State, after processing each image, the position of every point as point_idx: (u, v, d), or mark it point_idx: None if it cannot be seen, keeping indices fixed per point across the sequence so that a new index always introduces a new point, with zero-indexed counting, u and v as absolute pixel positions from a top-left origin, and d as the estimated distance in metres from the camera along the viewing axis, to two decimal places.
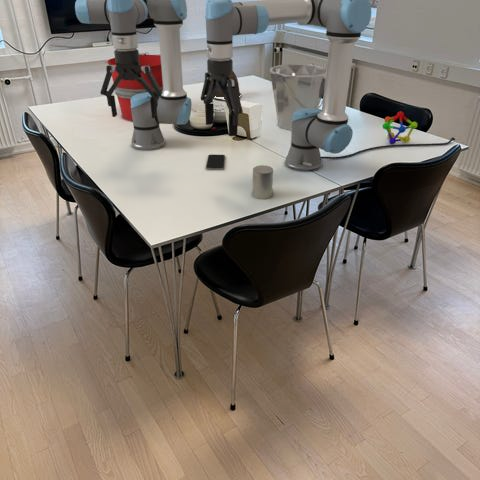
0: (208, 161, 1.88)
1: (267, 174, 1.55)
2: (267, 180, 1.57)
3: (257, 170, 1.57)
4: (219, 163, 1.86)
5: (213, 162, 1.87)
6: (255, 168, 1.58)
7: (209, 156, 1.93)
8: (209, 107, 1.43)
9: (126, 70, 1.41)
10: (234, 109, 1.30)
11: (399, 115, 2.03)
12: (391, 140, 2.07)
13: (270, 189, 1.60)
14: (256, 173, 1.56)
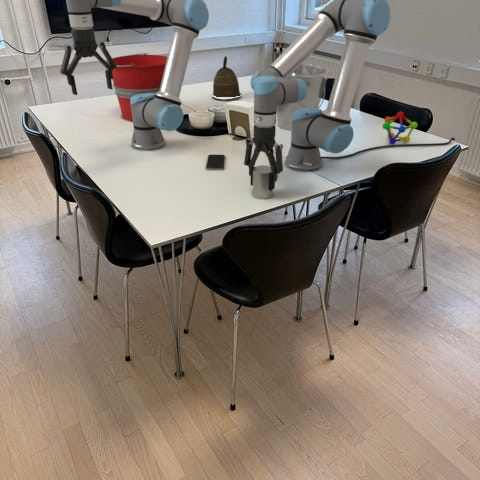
0: (208, 161, 1.88)
1: (267, 174, 1.55)
2: (267, 180, 1.57)
3: (257, 170, 1.57)
4: (219, 163, 1.86)
5: (213, 162, 1.87)
6: (255, 168, 1.58)
7: (209, 156, 1.93)
8: None
9: (85, 48, 1.55)
10: (278, 169, 1.53)
11: (399, 115, 2.03)
12: (391, 140, 2.07)
13: None
14: (256, 173, 1.56)
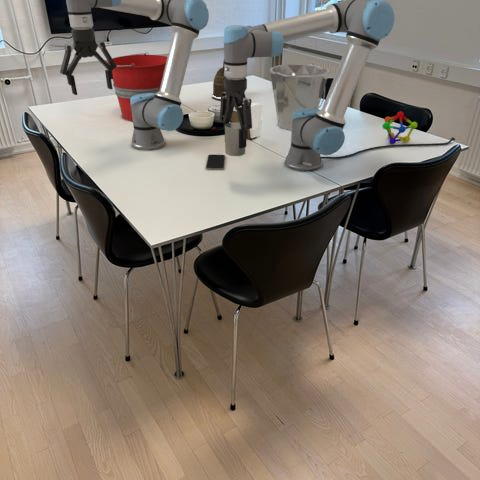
0: (208, 161, 1.88)
1: (236, 130, 1.51)
2: (237, 136, 1.53)
3: (228, 125, 1.54)
4: (219, 163, 1.86)
5: (213, 162, 1.87)
6: (228, 124, 1.55)
7: (209, 156, 1.93)
8: None
9: (85, 48, 1.55)
10: (245, 125, 1.48)
11: (399, 115, 2.03)
12: (391, 140, 2.07)
13: None
14: (226, 128, 1.53)
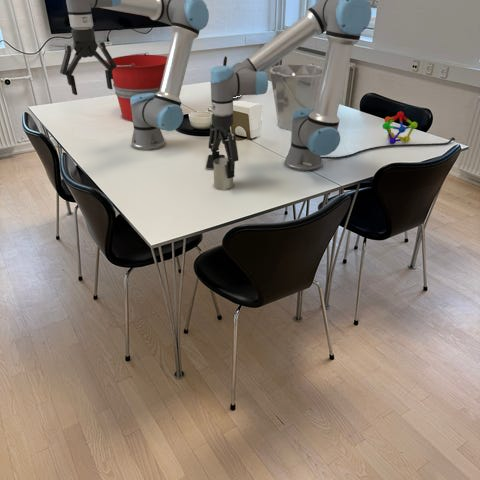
0: (208, 161, 1.88)
1: (222, 166, 1.61)
2: (223, 172, 1.62)
3: (216, 161, 1.64)
4: None
5: None
6: (217, 159, 1.65)
7: (209, 156, 1.93)
8: (215, 154, 1.67)
9: (85, 48, 1.55)
10: (231, 158, 1.56)
11: (399, 115, 2.03)
12: (391, 140, 2.07)
13: (227, 181, 1.65)
14: (214, 164, 1.63)
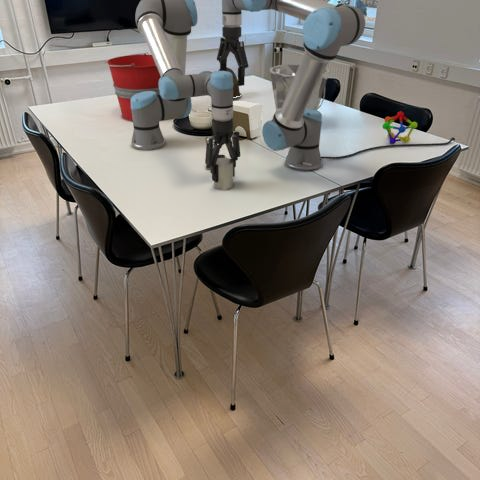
0: None
1: (222, 166, 1.61)
2: (223, 172, 1.62)
3: None
4: None
5: None
6: (217, 159, 1.65)
7: None
8: (223, 65, 1.86)
9: (223, 136, 1.58)
10: (242, 64, 1.73)
11: (399, 115, 2.03)
12: (391, 140, 2.07)
13: (227, 181, 1.65)
14: None
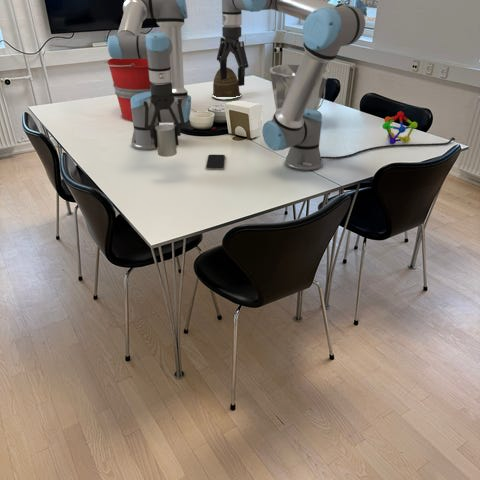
0: (208, 161, 1.88)
1: (159, 131, 1.60)
2: (160, 137, 1.61)
3: (159, 126, 1.63)
4: (219, 163, 1.86)
5: (213, 162, 1.87)
6: (162, 125, 1.64)
7: (209, 156, 1.93)
8: (223, 65, 1.86)
9: (161, 101, 1.56)
10: (242, 64, 1.73)
11: (399, 115, 2.03)
12: (391, 140, 2.07)
13: (165, 148, 1.63)
14: None
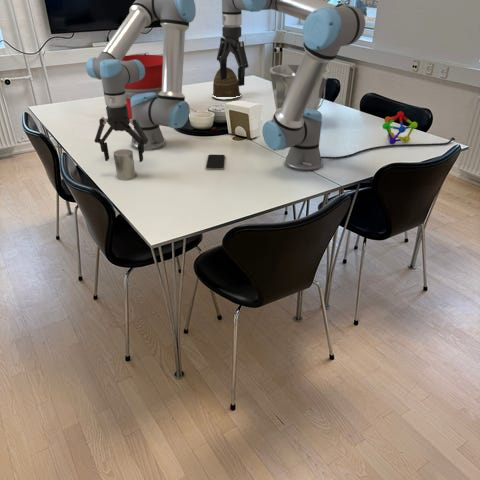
0: (208, 161, 1.88)
1: (115, 156, 1.69)
2: (116, 161, 1.70)
3: (119, 151, 1.72)
4: (219, 163, 1.86)
5: (213, 162, 1.87)
6: (123, 149, 1.73)
7: (209, 156, 1.93)
8: (223, 65, 1.86)
9: (116, 123, 1.64)
10: (242, 64, 1.73)
11: (399, 115, 2.03)
12: (391, 140, 2.07)
13: (120, 172, 1.72)
14: None
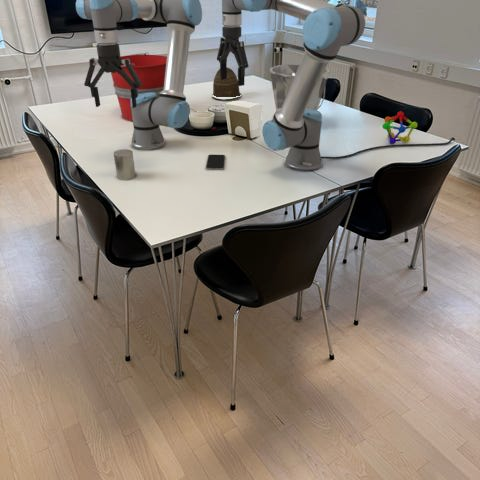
0: (208, 161, 1.88)
1: (115, 156, 1.69)
2: (116, 161, 1.70)
3: (119, 151, 1.72)
4: (219, 163, 1.86)
5: (213, 162, 1.87)
6: (123, 149, 1.73)
7: (209, 156, 1.93)
8: (223, 65, 1.86)
9: (107, 63, 1.53)
10: (242, 64, 1.73)
11: (399, 115, 2.03)
12: (391, 140, 2.07)
13: (120, 172, 1.72)
14: None
